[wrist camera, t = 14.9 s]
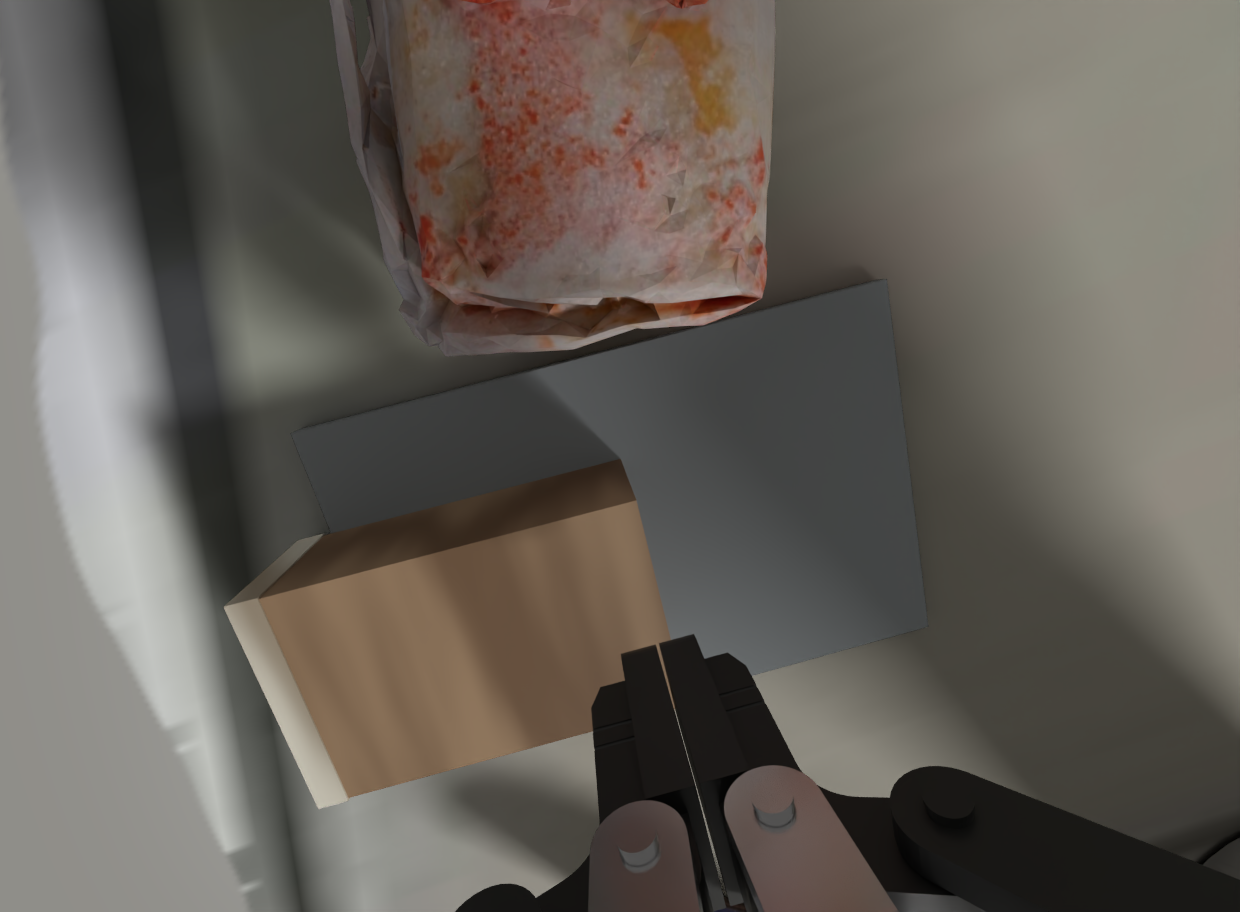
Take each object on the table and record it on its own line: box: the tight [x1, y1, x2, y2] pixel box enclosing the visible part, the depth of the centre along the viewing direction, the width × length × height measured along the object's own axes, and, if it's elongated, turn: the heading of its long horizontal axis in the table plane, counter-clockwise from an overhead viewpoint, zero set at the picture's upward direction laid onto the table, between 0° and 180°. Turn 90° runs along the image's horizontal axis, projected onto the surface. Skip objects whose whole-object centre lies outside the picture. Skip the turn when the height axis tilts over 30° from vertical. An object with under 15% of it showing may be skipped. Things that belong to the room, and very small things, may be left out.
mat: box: [291, 279, 928, 676], centre depth 19 cm, size 12×18×1 cm, turn 104°
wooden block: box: [224, 459, 675, 809], centre depth 17 cm, size 4×6×10 cm
